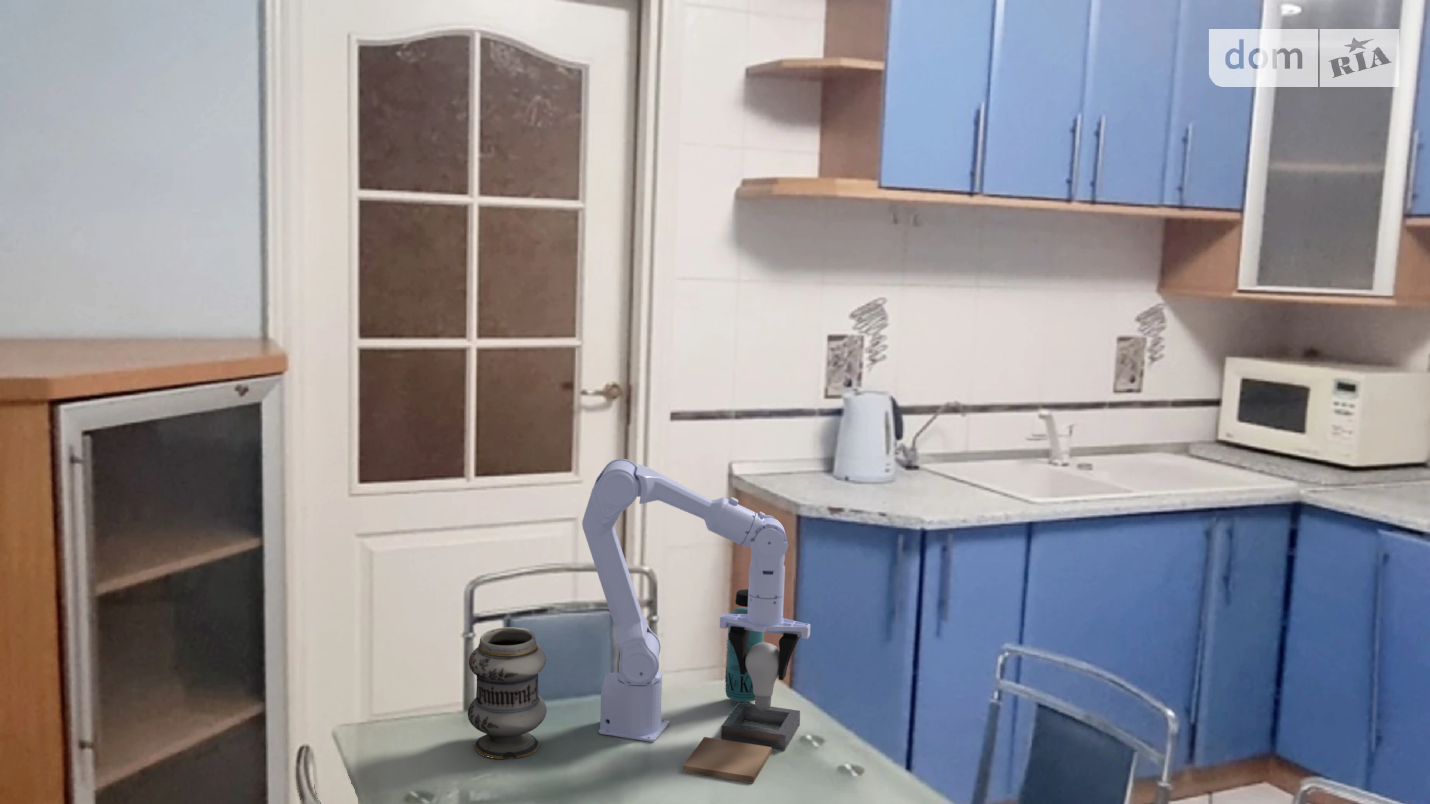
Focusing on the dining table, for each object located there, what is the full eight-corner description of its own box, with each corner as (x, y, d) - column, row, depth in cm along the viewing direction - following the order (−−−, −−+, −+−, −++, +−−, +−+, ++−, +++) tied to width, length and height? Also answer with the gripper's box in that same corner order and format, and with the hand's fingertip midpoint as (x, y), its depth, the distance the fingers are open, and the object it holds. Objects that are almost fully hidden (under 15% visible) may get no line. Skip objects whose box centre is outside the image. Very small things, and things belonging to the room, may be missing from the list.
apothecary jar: (475, 767, 180) (475, 652, 177) (461, 735, 191) (461, 626, 188) (554, 757, 184) (555, 644, 182) (536, 726, 195) (537, 619, 193)
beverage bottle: (726, 694, 211) (730, 584, 208) (764, 697, 210) (768, 587, 208) (721, 708, 205) (725, 595, 202) (760, 712, 204) (764, 598, 201)
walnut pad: (682, 771, 180) (682, 765, 180) (704, 742, 191) (704, 736, 191) (753, 783, 177) (753, 776, 177) (771, 753, 188) (771, 747, 188)
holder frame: (720, 740, 192) (721, 725, 192) (738, 716, 202) (739, 701, 202) (784, 750, 189) (785, 735, 189) (799, 725, 199) (800, 710, 199)
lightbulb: (777, 716, 190) (779, 646, 190) (740, 713, 191) (742, 643, 192) (784, 709, 196) (786, 641, 196) (747, 706, 197) (749, 638, 198)
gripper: (715, 595, 190) (712, 677, 192) (804, 606, 186) (801, 689, 188) (727, 583, 197) (725, 663, 199) (814, 593, 193) (810, 674, 195)
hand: (762, 675), depth 194 cm, fingers closed on lightbulb, 6 cm apart
